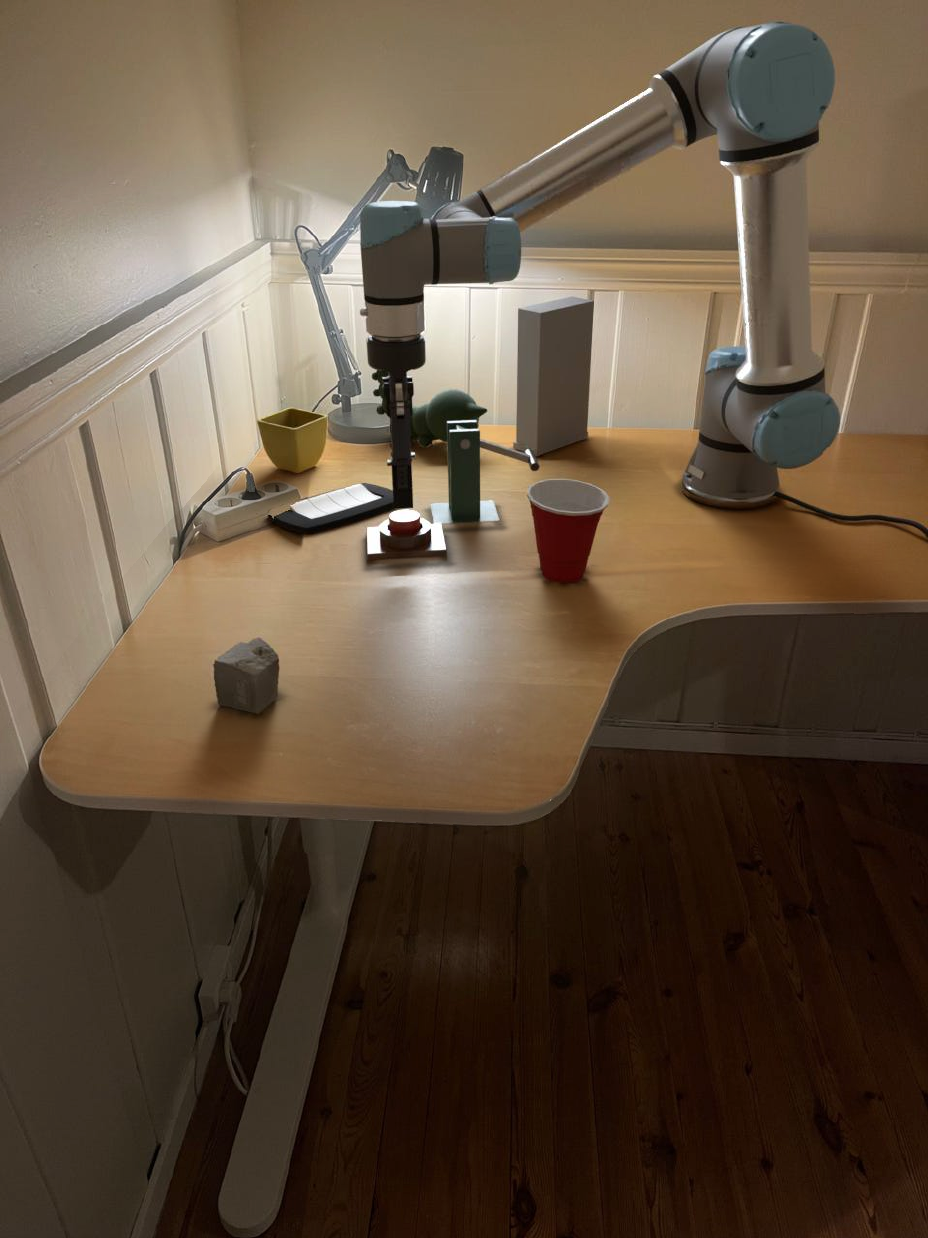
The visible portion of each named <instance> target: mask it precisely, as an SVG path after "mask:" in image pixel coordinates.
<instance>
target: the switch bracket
mask: <svg viewBox="0 0 928 1238" xmlns="http://www.w3.org/2000/svg"><path fill="white" fill-rule="evenodd" d="M456 425H458V426H461V427H464V428H467V429H460V430H455V428H456ZM480 439H481V430H480V428H478V429H477V421H476V420H464V421H447V442H446V445H447V449H446V451H447V490H448V493H447V494H448V502H432V503H431V502H430V504H429V505H430V510H431V517H432V522H433V524H440V523H441V524H442V525H445V524H447V525H448V524H465V523H483V522H484V523H485V522H486V523H487V522H500V520H501V519H500V517H499V513H498V510H497V507H496V505H495V501H494V500H493V499H489V500H481V448H480Z"/></svg>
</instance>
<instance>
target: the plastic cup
mask: <svg viewBox="0 0 928 1238" xmlns="http://www.w3.org/2000/svg"><path fill="white" fill-rule="evenodd" d="M526 496H527V498H528V500H529V503H530V508H531V516H532V519H533V528H534V534H535V541H536V550H537V554H538V559H539V567H540V571H541V574H542V575H541V576H542V577H543V578H544V579H546V580H548V581H549V582H553V583H557V584H572V583H575V582H578V581H580V580H582V578H584V575H585V573H586V569H587V565H588V561H589V557H590V555H591V551H592V548H593V544H594V540H595V537H596V533H597V529H598V525H599V523H600V520H601V516H603V513H604V511H605V509H606V508H607V507H608V506H609V504H610V496H609V495H608V493H607V492H606V491H605V490H603V489H602V488H600V487H598V486H596V485H594V484H593V483H589V482H585V481H581V480H578V479H569V478H547V479H543V480H539V481H536V482H534V483H532V484H531V485H529V486H528V489H527V492H526Z"/></svg>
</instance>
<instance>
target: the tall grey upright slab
mask: <svg viewBox="0 0 928 1238" xmlns="http://www.w3.org/2000/svg"><path fill="white" fill-rule="evenodd" d="M594 309H595V300H593V299H592V300H591V299H587V298H583V297H582V298H581V297H576V296H568V297H564V298H558V299H554V300H550V301H546V302H541V303H536V304H532V305H527V306H522V307H518V308H517V361H516V363H517V365H516V366H517V367H516V428H515V429H516V430H515V431H516V432H515V433H516V437H515V438H516V439H515V441H513V442H512V443H513V444H512V447H513V448H512V449H514V450H516V451H520V452H523V453H525V451H526V450H527V449H531V450H532V451H533V453H534V455H535V457H539V456H540V455H544V454H546V453H549V452H552V451H554V450H557V449H560V448H563V447H565V446H569V445H571V444H574V443H577V442H580V441H585V439H589V431H588V423H589V406H590V384H591V370H592V369H591V366H592V347H593V331H594V330H593V329H594Z"/></svg>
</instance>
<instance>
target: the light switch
mask: <svg viewBox="0 0 928 1238" xmlns="http://www.w3.org/2000/svg"><path fill="white" fill-rule="evenodd" d="M300 499H301V501H299V502H296V503H295V504H293V505H290V510H288V511H285V512H283V513H281V514H279V515H276V516H274V519H273V518H272V516H271V515H268V514H267V518H268V519H269V520H270V521H271V522H272V523H274V524H275V525H277V526H279V527H281V528H282V529H283V528H284V529H286V530H289V531H291V532H296V533H299V534H301V535H313V534H316V533H320V532H324V531H328V530H332V529H335V528H339V527H342V526H345V525H349V524H352V523H356V522H358V521H362V520H365V519H368V518H372V517H374V516H378V515H380V514H383V513H385V512H388V511H391V510H395V509H394V505H393V489H390V488H388V487H385V486H380V485H377V484H373V483H367V482H360V483H356V484H353V485H349V486H345V487H340V488H337V489H333V490H330V491H327V492H322V493H318V494H316V495H313V496H309V497H308V496H307V497H303V498H300Z"/></svg>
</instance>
